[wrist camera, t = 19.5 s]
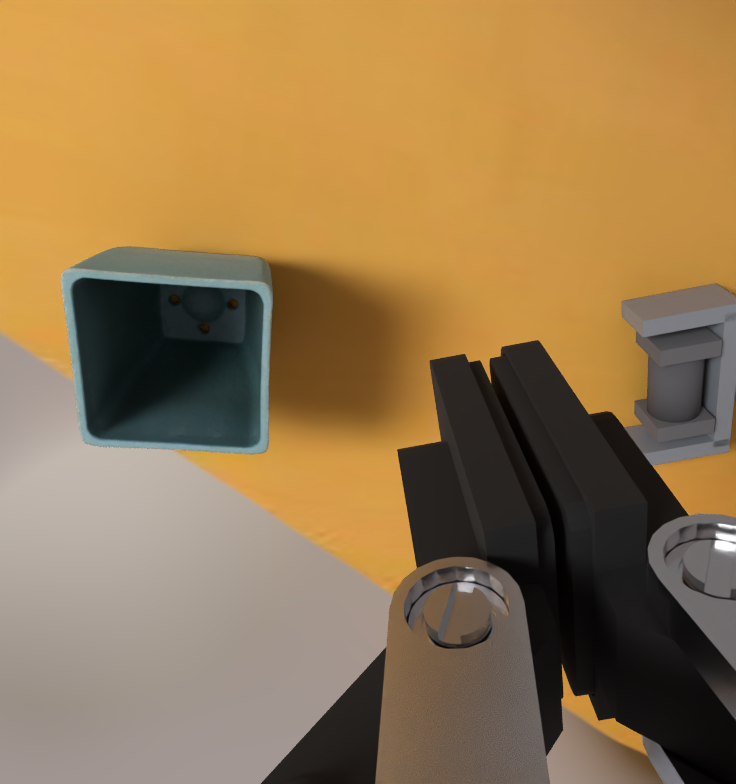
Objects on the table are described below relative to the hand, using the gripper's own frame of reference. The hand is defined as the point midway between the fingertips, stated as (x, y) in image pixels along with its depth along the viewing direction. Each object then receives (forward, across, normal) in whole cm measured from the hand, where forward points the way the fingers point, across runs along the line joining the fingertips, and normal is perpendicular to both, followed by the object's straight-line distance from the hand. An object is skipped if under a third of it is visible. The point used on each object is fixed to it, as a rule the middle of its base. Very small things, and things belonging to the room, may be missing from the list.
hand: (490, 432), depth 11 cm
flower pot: (+27, +11, +6) cm, 30 cm away
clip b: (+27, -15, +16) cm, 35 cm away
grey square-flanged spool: (+27, -15, +16) cm, 35 cm away
